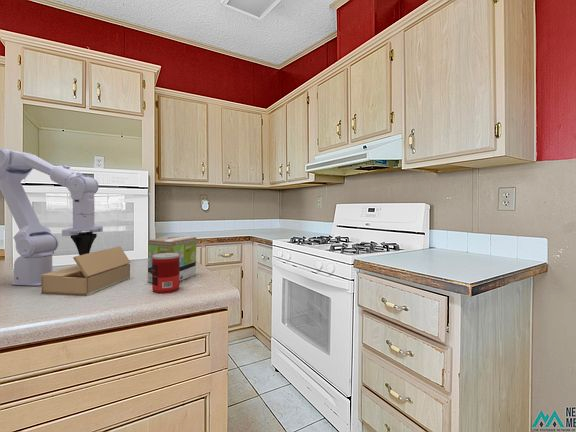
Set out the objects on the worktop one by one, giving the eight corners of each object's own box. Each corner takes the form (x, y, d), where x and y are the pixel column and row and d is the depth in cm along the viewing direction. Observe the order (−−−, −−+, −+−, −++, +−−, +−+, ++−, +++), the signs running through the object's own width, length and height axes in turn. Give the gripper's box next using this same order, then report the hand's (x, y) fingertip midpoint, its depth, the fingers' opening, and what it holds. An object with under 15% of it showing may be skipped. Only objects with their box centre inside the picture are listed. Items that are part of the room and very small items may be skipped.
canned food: (184, 287, 94) (184, 253, 93) (166, 294, 86) (166, 258, 86) (165, 285, 96) (165, 251, 96) (146, 291, 89) (146, 255, 88)
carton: (41, 293, 85) (41, 274, 85) (92, 276, 105) (92, 261, 105) (86, 295, 84) (86, 276, 84) (129, 278, 104) (129, 262, 103)
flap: (72, 257, 84) (75, 256, 84) (118, 247, 103) (120, 246, 103) (85, 277, 84) (87, 276, 84) (128, 263, 103) (130, 262, 103)
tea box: (173, 285, 96) (173, 240, 95) (146, 283, 98) (146, 239, 97) (196, 274, 111) (197, 236, 110) (172, 272, 113) (173, 234, 112)
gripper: (77, 215, 86) (77, 261, 87) (111, 213, 100) (111, 252, 101) (55, 214, 86) (55, 260, 87) (91, 213, 101) (92, 252, 102)
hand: (84, 256), depth 94 cm, fingers closed
